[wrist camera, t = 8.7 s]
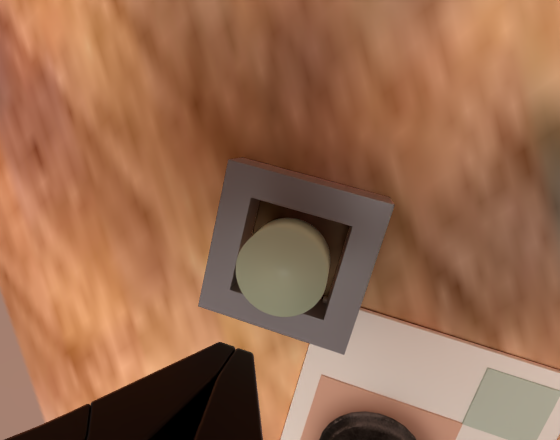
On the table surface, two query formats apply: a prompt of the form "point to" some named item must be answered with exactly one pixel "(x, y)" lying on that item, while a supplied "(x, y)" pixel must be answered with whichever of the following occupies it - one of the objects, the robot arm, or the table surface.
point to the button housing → (312, 200)
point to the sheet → (425, 386)
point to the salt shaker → (366, 428)
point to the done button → (284, 267)
